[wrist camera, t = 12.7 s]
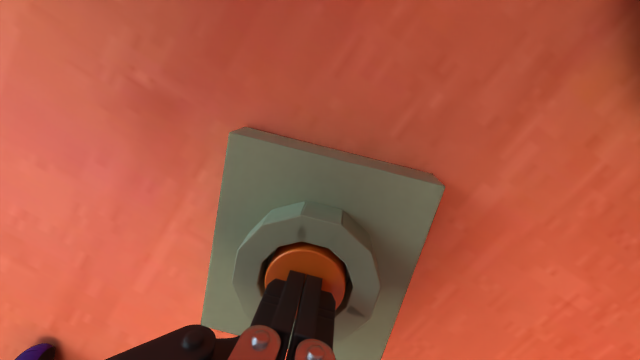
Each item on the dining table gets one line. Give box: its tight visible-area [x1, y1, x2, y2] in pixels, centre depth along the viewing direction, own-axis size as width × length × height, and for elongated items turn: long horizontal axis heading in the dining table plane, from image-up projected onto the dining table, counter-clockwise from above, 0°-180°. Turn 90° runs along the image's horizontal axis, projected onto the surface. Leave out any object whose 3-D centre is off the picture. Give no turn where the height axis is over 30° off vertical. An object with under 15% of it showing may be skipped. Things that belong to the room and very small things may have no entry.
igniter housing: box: [201, 127, 445, 360], centre depth 16 cm, size 11×10×4 cm
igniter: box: [265, 242, 346, 319], centre depth 15 cm, size 4×4×2 cm
